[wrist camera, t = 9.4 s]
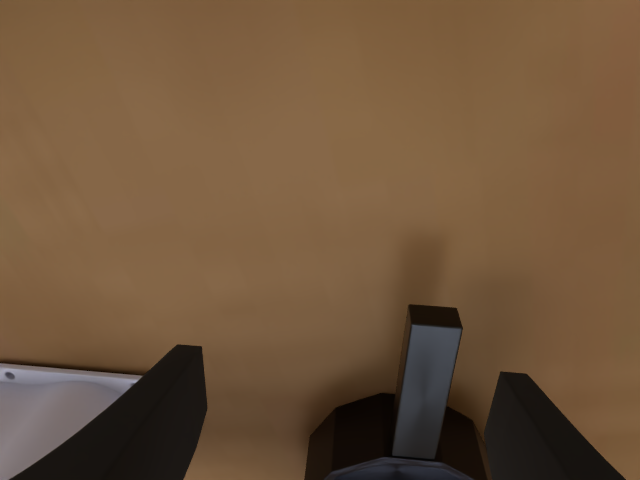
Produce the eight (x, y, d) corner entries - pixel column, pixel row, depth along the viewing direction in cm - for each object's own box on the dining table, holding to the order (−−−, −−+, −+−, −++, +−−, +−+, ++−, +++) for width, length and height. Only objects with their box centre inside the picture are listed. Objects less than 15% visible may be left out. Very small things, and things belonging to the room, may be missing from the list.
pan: (468, 524, 30) (483, 596, 26) (306, 507, 30) (299, 575, 27) (537, 282, 22) (571, 338, 18) (316, 265, 22) (307, 316, 19)
